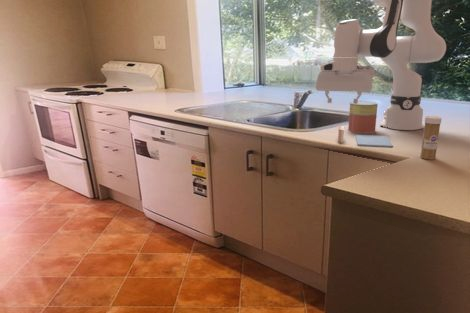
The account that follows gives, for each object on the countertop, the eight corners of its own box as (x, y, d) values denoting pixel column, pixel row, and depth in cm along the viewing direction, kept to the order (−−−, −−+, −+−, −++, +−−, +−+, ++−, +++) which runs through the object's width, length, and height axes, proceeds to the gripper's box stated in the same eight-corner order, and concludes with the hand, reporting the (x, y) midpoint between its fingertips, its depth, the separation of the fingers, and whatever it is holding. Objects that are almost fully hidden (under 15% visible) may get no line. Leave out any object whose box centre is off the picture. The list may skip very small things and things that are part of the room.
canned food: (377, 129, 163) (380, 102, 159) (372, 134, 153) (375, 105, 150) (351, 127, 168) (353, 100, 165) (345, 131, 159) (346, 103, 156)
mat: (355, 136, 150) (355, 134, 150) (387, 137, 147) (387, 136, 147) (357, 145, 135) (357, 144, 135) (392, 147, 132) (392, 145, 132)
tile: (338, 137, 148) (338, 125, 147) (342, 138, 148) (343, 125, 147) (338, 142, 141) (338, 129, 140) (343, 142, 141) (343, 129, 139)
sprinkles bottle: (426, 160, 117) (432, 118, 113) (416, 156, 121) (422, 115, 117) (439, 159, 117) (445, 117, 114) (429, 155, 122) (434, 115, 118)
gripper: (373, 65, 137) (370, 103, 141) (317, 65, 142) (315, 101, 146) (375, 65, 131) (372, 105, 135) (316, 65, 136) (314, 103, 140)
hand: (342, 103), depth 140 cm, fingers open, 8 cm apart
